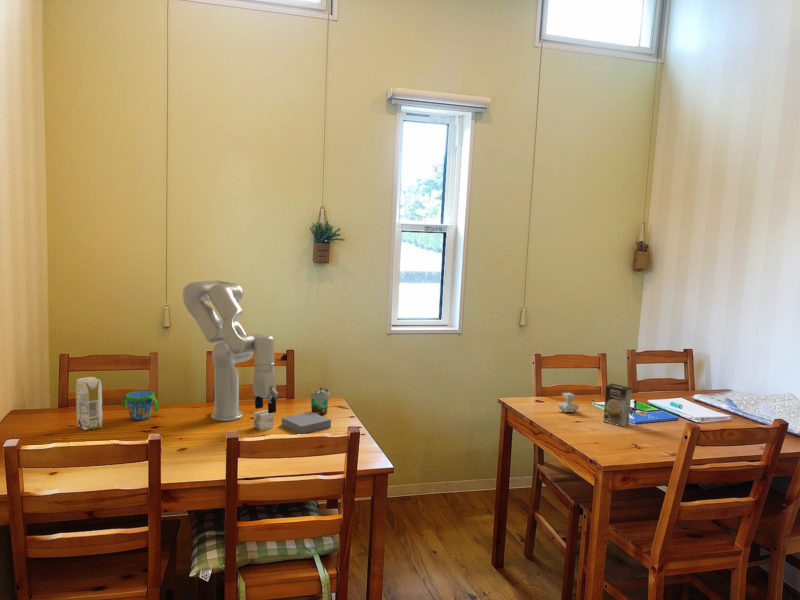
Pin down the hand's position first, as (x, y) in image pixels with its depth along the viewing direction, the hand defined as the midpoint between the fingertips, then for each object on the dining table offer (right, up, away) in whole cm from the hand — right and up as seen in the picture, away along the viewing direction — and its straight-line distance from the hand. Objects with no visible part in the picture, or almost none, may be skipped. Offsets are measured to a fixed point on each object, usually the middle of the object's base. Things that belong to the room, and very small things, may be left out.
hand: (265, 410), depth 234 cm
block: (-1, -7, +1) cm, 7 cm away
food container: (+19, -6, +22) cm, 30 cm away
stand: (+15, -7, +4) cm, 17 cm away
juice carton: (-66, -6, -5) cm, 67 cm away
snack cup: (-53, -5, +8) cm, 53 cm away
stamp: (+129, -8, +35) cm, 134 cm away
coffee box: (+145, -10, +21) cm, 147 cm away
